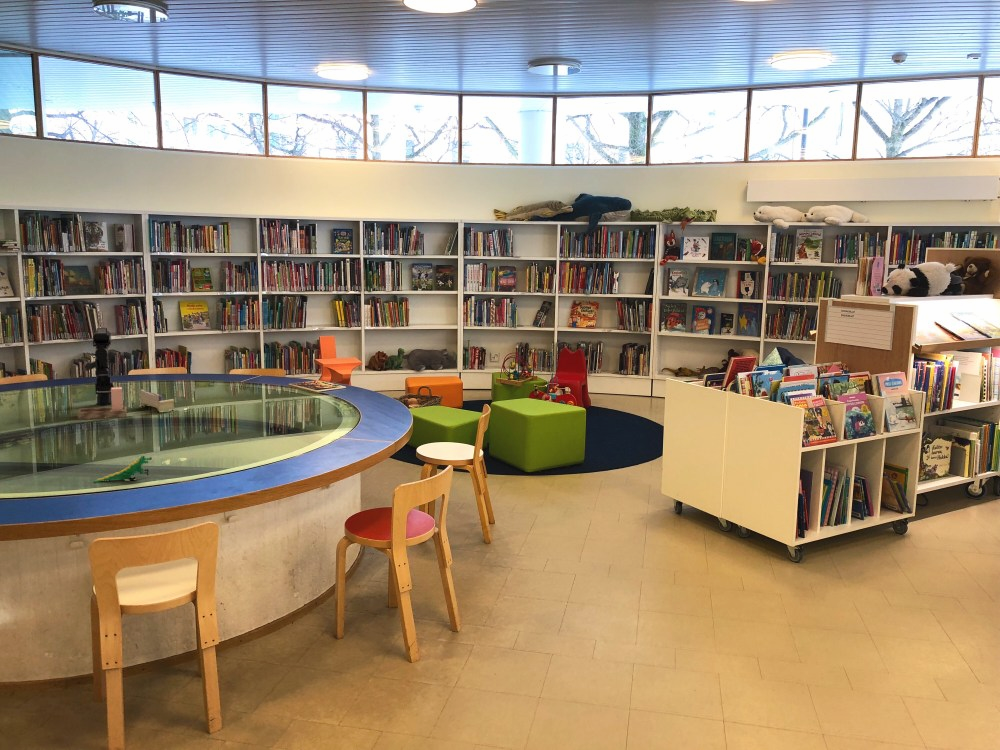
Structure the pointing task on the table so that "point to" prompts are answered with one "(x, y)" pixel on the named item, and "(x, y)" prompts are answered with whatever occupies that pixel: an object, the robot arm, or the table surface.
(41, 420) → the table surface
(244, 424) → the table surface
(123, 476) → the crocodile
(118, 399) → the coral block
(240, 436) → the table surface
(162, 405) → the toy sofa
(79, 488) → the table surface
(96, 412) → the box
